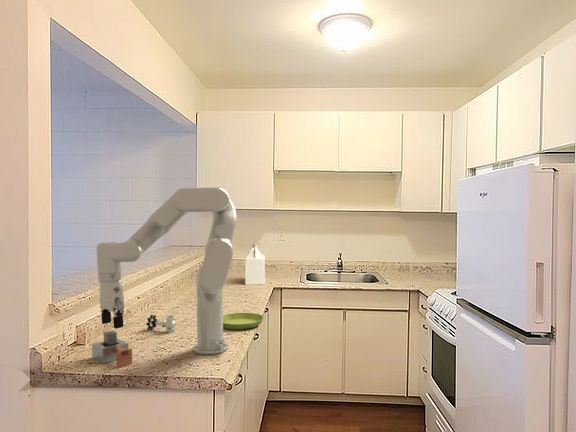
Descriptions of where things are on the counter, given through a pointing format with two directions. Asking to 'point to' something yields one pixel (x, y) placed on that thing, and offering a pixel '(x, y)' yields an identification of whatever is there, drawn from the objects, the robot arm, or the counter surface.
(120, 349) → the square sleeve with handle
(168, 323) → the valve
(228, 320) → the saucer
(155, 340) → the counter surface
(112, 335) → the square peg
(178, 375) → the counter surface
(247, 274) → the gable box
